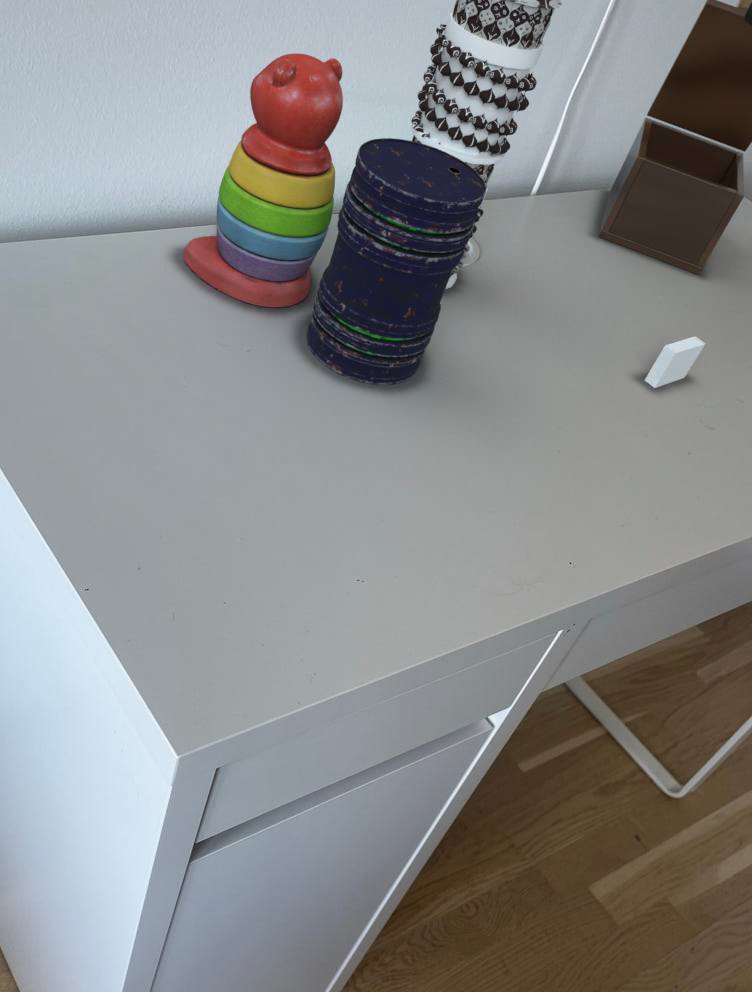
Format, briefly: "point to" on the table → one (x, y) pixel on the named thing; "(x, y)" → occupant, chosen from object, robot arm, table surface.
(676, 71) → the lid
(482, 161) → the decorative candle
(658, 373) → the eraser
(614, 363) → the table surface
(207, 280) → the stacking bear
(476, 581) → the table surface
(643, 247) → the chest
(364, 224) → the storage jar
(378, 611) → the table surface
